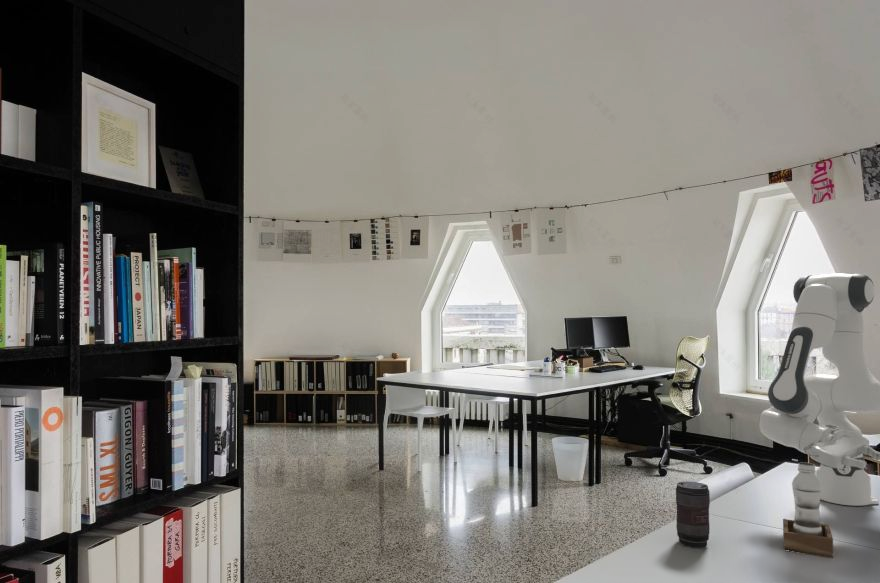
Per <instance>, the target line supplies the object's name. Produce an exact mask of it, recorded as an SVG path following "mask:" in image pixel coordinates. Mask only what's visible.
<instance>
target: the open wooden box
mask: <svg viewBox="0 0 880 583" xmlns="http://www.w3.org/2000/svg"><path fill="white" fill-rule="evenodd" d="M820 524H821V528H822V533H823V537H822V536H815V535H808V534H801V533H794V532H793V525H794V519H788V518H783V519H782V537H783V538H782V539H783V540H784V541H783V551H784V550H789V551H788V552H790V551H794V552H793V553H797V552H799V553H798V554H803V553H804V554H805V555H811V556H817V557H823V558H831V559H834V538H833V534H832V532H831V531H832V530H831V528H830V524H823V523H820Z"/></svg>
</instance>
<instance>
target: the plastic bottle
mask: <svg viewBox="0 0 880 583" xmlns="http://www.w3.org/2000/svg"><path fill="white" fill-rule="evenodd" d="M797 471H798V473H797V474H796V475H795V477H794V478H793V479H792V482H791V486H792V493H793V499H794V519H793V520H794V525H793V532H794V533H801V534H808V535H815V536H822V537H823V533H822V528H821V524H822V523H821V517H820V506H821V505H820V501H821V499H820V496H821V484H820V482H819V480H818V479H817V477H816V476H815V475H814V473H815V471H816V464H815V463H810V462H798V465H797Z"/></svg>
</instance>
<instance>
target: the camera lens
mask: <svg viewBox="0 0 880 583" xmlns="http://www.w3.org/2000/svg"><path fill="white" fill-rule="evenodd" d="M710 493H711V492H710V489H709V485H708V484H705V483H702V482H697V481H679V482H677V483H676V488H675V504H676V533H677V534H676V535H677V537H678V542H679V543H680V544H681V545H682V546H684V547H687V548H692V549H701V548H702V547H703V548H705V546H706V547H707V545H708V541H709V539H710V502H711V501H710V496H711V495H710ZM703 548H702V549H703Z"/></svg>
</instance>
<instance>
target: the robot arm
mask: <svg viewBox="0 0 880 583" xmlns="http://www.w3.org/2000/svg"><path fill="white" fill-rule="evenodd" d="M792 293H793V299H794V300H795V303H796V307H795V310H794V316H793V322H792V326H791V330H790V334H789V336H788V339H787V342H786V345H785V348H784V352H783V356H782V359H781V363H780V367H779V369H778V372H777V375H776V376H775V377H774V379H773V380H772V381H771V383H770V385H769V388H768V390H767V397H768V401H769V403H770V404H771V407H769V408H767V409H764V410H763V411H762V412H761V413H760V416H759V418H758V425H759V430H760V433H761V434H762V435H763V436H764V437H766V438H767V439H768V440H771V441H773V442H775V443H778V444H780V445H783V446H785V447H787V448H788V447H789V448H794V449H796V450H797V451H799V452H801V453H803V454H806V455H809V457H810V458H811V459H812V460H813V461H816V462H818V463H820V465H819V467H818V468H816V469H815V473H814V475H815V476H816V477H817V479H818V480H819V482H820V484H821V496H820V501H823V502H824V501H825V502H827V503H832V504H837V505H843V506H844V505H845V506H856V507H857V506H859V507H860V506H868V505H879V500H878V499H877V498H876V497H874V496H873V495H872V483H871V482H872V480H871V476H870V475H869V474H868V473H867V471H865V468H867V463H868V462H867V461H865V455H866V456H869V457H871V459H873V460H876V461H879V460H880V451H877V450H875V449H874V448H872V447H871V446H870V440H869V439H868V438H866V437H865V436H863V433H862V430H861V429H860V428H859V427H858V426H857V425H856V424H854V423H852V421H850V420H849V419H848V417H847V415H846V414H845V412H850V413H857V414H876V413H880V381H879V380H878V379H877V378H876V376H874V375H873V374H872V372H871V371H870V369H869V367H868V365H867V363H866V359H865V351H864V348H865V347H864V318H863V311H864V310H865V309H867V308H868V307H869V306H870V305H871V303H872V302H873V300H874V296H875V285H874V282H873V280H872V279H871V278H870V277H869V275H866V274H862V273H854V274H851V273H831V274H830V273H828V274H818V275H812V274H811V275H806V276H802V277H799V278H798V279H797V281H795V283H794V285H793V291H792ZM820 348H821V352H822V355H823V357H824V358H825V359H826V360H827V361H828V362H830V363H831V364H833V365H834V366H835V367H836V368H837V371H838V375H837V374H834V375H833V374H826V373H825V374H823V373H817V374H810V375H808V374H807V375H805V374H806V371H807V366H808V362H809V359H810V354H811V353H812V352H813V350H815V349H820ZM816 420H817V422H818V424H817V423H815V421H816Z"/></svg>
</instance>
